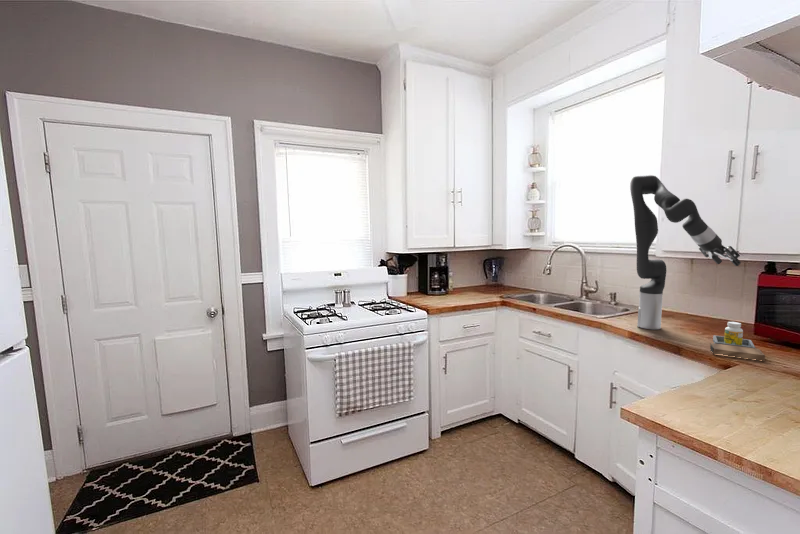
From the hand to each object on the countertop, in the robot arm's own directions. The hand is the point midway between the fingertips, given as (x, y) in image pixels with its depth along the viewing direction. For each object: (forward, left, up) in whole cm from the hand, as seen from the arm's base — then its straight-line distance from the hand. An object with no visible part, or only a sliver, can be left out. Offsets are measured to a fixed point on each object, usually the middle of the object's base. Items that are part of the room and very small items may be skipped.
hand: (728, 263), depth 156 cm
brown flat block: (+2, -26, -33) cm, 42 cm away
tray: (+2, -15, -33) cm, 36 cm away
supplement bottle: (+2, -15, -32) cm, 36 cm away
